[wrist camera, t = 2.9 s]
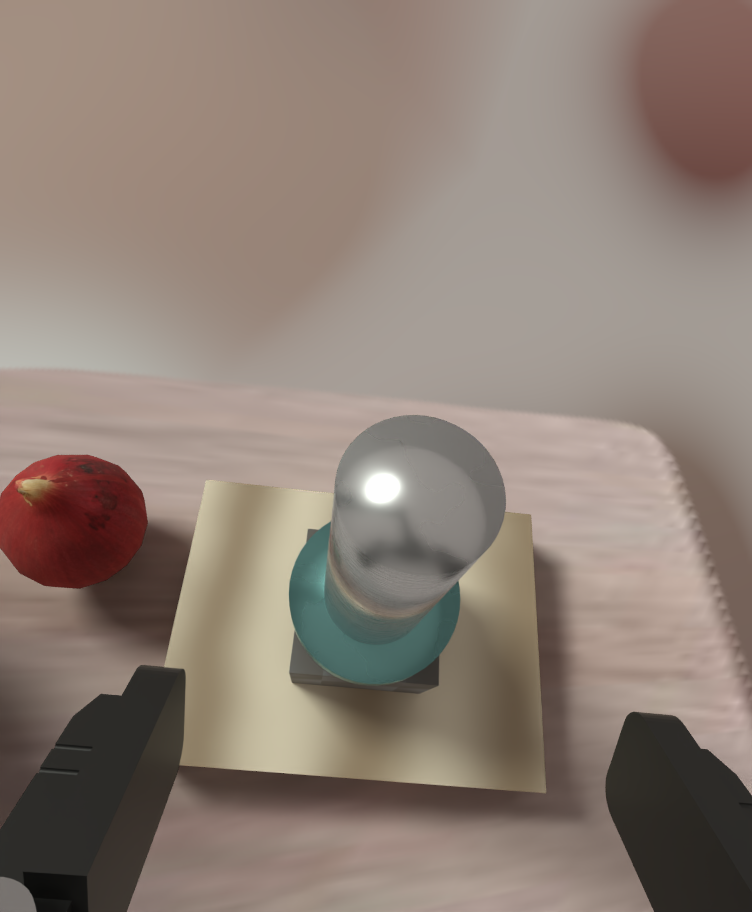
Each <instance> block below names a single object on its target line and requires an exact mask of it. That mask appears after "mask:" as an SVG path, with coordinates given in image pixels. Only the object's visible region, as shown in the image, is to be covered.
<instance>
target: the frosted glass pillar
mask: <svg viewBox="0 0 752 912" xmlns="http://www.w3.org/2000/svg"><path fill="white" fill-rule="evenodd" d="M505 509H506V495H505V487H504V483H503V479H502V476H501V474H500V471H499V469H498V467H497V465H496V463H495V461H494V459H493V458H492V456H491V455H490V454H489V452H488V451H487V450H486V449H485V447H484V446H483V445H482V444H481V443H480V442H479V441H478V440H477V439H476V438H474V437H473V436H472V435H471V434H469V433H468V432H466V431H465V430H463V429H462V428H460V427H458V426H456V425H454V424H452V423H450V422H447V421H445V420H441V419H438V418H434V417H428V416H420V415H407V416H399V417H393V418H390V419H387V420H383V421H381V422H379V423H377V424H374V425H373V426H371V427H369V428H368V429H366V430H365V431H363V432H362V433H361V434H360V435H359V436H357V437H356V439H355V440H354V441H353V442H352V443H351V444H350V445H349V447H348V448H347V450H346V451H345V453H344V455H343V457H342V459H341V461H340V464H339V467H338V469H337V474H336V479H335V488H334V498H333V507H332V517H331V521H330V522H329V523H327V524H326V525H324V526H323V527H321V528H320V529H319V530H318V531H317V532H316V533H315V534H313V536H312V537H311V538H310V539H309V540H308V541H307V542H306V544H305V545H304V547H303V548H302V550H301V551H300V553H299V555H298V557H297V559H296V561H295V564H294V567H293V570H292V573H291V578H290V583H289V607H290V613H291V618H292V623H293V626H294V629H295V632H296V635H297V637H298V639H299V641H300V643H301V644H302V646H303V647H304V649H305V650H306V652H307V653H308V654H309V656H310V657H311V658H312V659H313V660H314V661H315V662H316V663H317V664H318V665H319V666H320V667H322V668H323V669H324V670H326V671H327V672H329V673H330V674H332V675H333V676H335V677H338V678H340V679H342V680H344V681H347V682H350V683H354V684H359V685H365V686H381V685H389V684H393V683H396V682H400V681H402V680H405V679H407V678H409V677H411V676H413V675H414V674H416V673H418V672H419V671H421V670H423V669H424V668H426V667H427V666H428V665H429V664H430V663H432V662H433V661H434V660H435V659H436V658H437V657H438V656H439V655H440V654H441V652H442V651H443V650H444V648H445V647H446V645H447V644H448V643H449V641H450V639H451V637H452V635H453V633H454V630H455V627H456V624H457V621H458V616H459V611H460V587H459V579H460V578H461V577H462V576H463V575H464V574H465V573H466V572H467V571H468V570H469V569H470V568H471V567H472V566H473V564H474V563H475V562H476V561H477V560H478V559H479V558H480V557H481V556H482V555H483V554H484V553H485V552H486V551H487V550H488V548H489V547H490V546H491V545H492V543H493V542H494V540H495V539H496V537H497V535H498V533H499V531H500V529H501V526H502V523H503V520H504V515H505Z"/></svg>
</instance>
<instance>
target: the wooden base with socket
mask: <svg viewBox="0 0 752 912" xmlns="http://www.w3.org/2000/svg"><path fill="white" fill-rule="evenodd" d="M333 498H334V493H325V492H316V491H307V490H297V489H288V488H279V487H269V486H260V485H251V484H242V483H232V482H223V481H214V480H206V483H205V488H204V492H203V497H202V501H201V506H200V510H199V514H198V519H197V523H196V528H195V532H194V536H193V541H192V545H191V550H190V554H189V558H188V563H187V567H186V572H185V576H184V581H183V585H182V589H181V594H180V598H179V603H178V607H177V611H176V616H175V620H174V625H173V629H172V634H171V638H170V642H169V647H168V651H167V656H166V660H165V664H164V667H169V668H180V669H184V670H185V673H186V688H185V720H184V742H183V749H182V755H181V760H180V764H179V765H184V766H197V767H210V768H223V769H236V770H249V771H262V772H275V773H288V774H301V775H314V776H327V777H340V778H353V779H366V780H379V781H392V782H405V783H418V784H431V785H444V786H457V787H470V788H483V789H497V790H510V791H523V792H536V793H546V778H545V760H544V742H543V723H542V705H541V687H540V668H539V650H538V632H537V614H536V595H535V577H534V559H533V540H532V522H531V515H529V514H520V513H511V512H505V515H504V520H503V523H502V526H501V529H500V531H499V533H498V535H497V537H496V539H495V540H494V542H493V543H492V545H491V546H490V547H489V548H488V550H487V551H486V552H485V553H484V554H483V555H482V556H481V557H480V558H479V559H478V560H477V561H476V562H475V563H474V564H473V566H472V567H471V568H470V569H469V570H468V571H467V572H466V573H465V574H464V575H463V576H462V577H461V578H460V579H459V587H460V611H459V616H458V621H457V624H456V627H455V630H454V633H453V635H452V637H451V639H450V641H449V643H448V644H447V645H446V647H445V648H444V650H443V651H442V652H441V654H440V655H439V656H438V657H437V658H436V659H435V660H434V661H433V662H432V663H430V664H429V665H428V666H427V667H426V668H424V669H423V670H421V671H419V672H418V673H416V674H414V675H413V676H411V677H409V678H407V679H405V680H402V681H400V682H396V683H393V684H389V685H381V686H365V685H359V684H354V683H350V682H347V681H344V680H342V679H340V678H338V677H335V676H333V675H332V674H330V673H329V672H327V671H326V670H324V669H323V668H322V667H320V666H319V665H318V664H317V663H316V662H315V661H314V660H313V659H312V658H311V657H310V656H309V654H308V653H307V652H306V650H305V649H304V647H303V646H302V644H301V643H300V641H299V639H298V637H297V635H296V632H295V629H294V626H293V623H292V618H291V613H290V607H289V583H290V578H291V573H292V570H293V567H294V564H295V561H296V559H297V557H298V555H299V553H300V551H301V550H302V548H303V547H304V545H305V544H306V542H307V541H308V540H309V539H310V538H311V537H312V536H313V534H315V533H316V532H317V531H318V530H319V529H320V528H321V527H323V526H324V525H326V524H327V523H329V522H330V521H331V517H332V507H333Z"/></svg>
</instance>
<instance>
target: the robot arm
mask: <svg viewBox="0 0 752 912" xmlns="http://www.w3.org/2000/svg"><path fill="white" fill-rule="evenodd" d="M185 688H186V673H185V670H184V669H180V668H169V667H158V666H147V665H140V666H139V667H138V668H137V670H136V671H135V673H134V675H133V676H132V678H131V680H130V682H129V683H128V685H127V687H126V689H125V691H124V692H123V694H122V696H118V695H107V694H100V695H99V696H98V697H97V698H95V699H94V700H93V701H92V702H90V703H89V704H88V705H87V706H85V707H84V708H83V709H81V710H80V711H79V712H78V713H76V714H75V715H74V716H73V717H72V719H71V720H70V722H69V724H68V725H67V727H66V728H65V730H64V731H63V733H62V734H61V736H60V738H59V739H58V741H57V742H56V745H55V748H54V749H52V750H51V752H50V753H49V755H48V756H47V758H46V759H45V761H44V762H43V764H42V765H41V767H40V771H39V773H36V775H35V776H34V778H33V779H32V781H31V783H30V784H29V786H28V787H27V789H26V790H25V792H24V793H23V795H22V797H21V798H20V800H19V801H18V803H17V804H16V806H15V807H14V809H13V811H12V812H11V814H10V815H9V817H8V818H7V820H6V821H5V823H4V825H3V826H2V828H1V829H0V912H127V909H128V906H129V904H130V901H131V898H132V895H133V893H134V890H135V887H136V885H137V882H138V879H139V876H140V874H141V871H142V868H143V865H144V863H145V860H146V857H147V854H148V852H149V849H150V846H151V844H152V841H153V838H154V835H155V833H156V830H157V827H158V824H159V822H160V819H161V816H162V814H163V811H164V808H165V805H166V803H167V800H168V797H169V794H170V792H171V789H172V786H173V784H174V781H175V778H176V775H177V772H178V768H179V764H180V760H181V755H182V749H183V742H184V720H185ZM606 799H607V804H608V808H609V812H610V814H611V817H612V819H613V821H614V823H615V826H616V828H617V830H618V832H619V835H620V837H621V839H622V841H623V843H624V846H625V848H626V850H627V852H628V855H629V857H630V859H631V861H632V863H633V866H634V868H635V870H636V872H637V875H638V877H639V879H640V881H641V883H642V886H643V888H644V890H645V892H646V894H647V897H648V899H649V901H650V903H651V906H652V908H653V910H654V912H752V795H751V794H750V793H749V791H748V790H747V788H746V787H745V786H744V784H743V783H742V782H741V780H740V779H739V778H738V776H737V775H736V774H735V773H734V772H733V771H731V770H730V769H729V768H728V767H727V766H726V765H725V764H723V763H722V762H721V761H720V760H719V759H718V758H717V757H715V756H714V755H713V754H712V753H711V752H710V751H709V750H707V749H701V748H700V747H699V746H698V744H697V743H696V741H695V740H694V738H693V737H692V736H691V734H690V733H689V731H688V730H687V728H686V727H685V726H684V724H683V723H682V722H681V720H679V719H678V718H677V717H675V716H672V715H662V714H651V713H641V712H631V713H630V714H629V715H628V716H627V717H626V719H625V721H624V724H623V727H622V730H621V733H620V736H619V740H618V743H617V746H616V749H615V752H614V755H613V758H612V761H611V764H610V767H609V770H608V773H607V777H606Z"/></svg>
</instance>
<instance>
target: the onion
mask: <svg viewBox="0 0 752 912" xmlns="http://www.w3.org/2000/svg"><path fill="white" fill-rule="evenodd" d="M147 524H148V520H147V513H146V507H145V500H144V497H143V493H142V491H141V489H140V488H139V487H138V486H137V485H136V484H135V482H134V481H133V480H132V479H131V478H130V476H129V475H128V474H127V473H126V472H125V471H124V470H123V469H122V468H121V467H120V466H118V465H115V464H113V463H110V462H107V461H105V460H102V459H99V458H97V457H94V456H90V455H56V456H53V457H50V458H47V459H43V460H40V461H37V462H35V463H33V464H31V465H30V466H29V467H27V468H26V469H25V470H23V471H22V472H20V473H19V474H18V475H16V476H15V478H14V479H13V480H12V481H11V482H10V484H9V485H8V486H7V487H6V488H5V490H4V491H3V492H2V493H1V497H0V548H1V550H2V551H3V552H4V554H5V555H6V556H7V557H8V559H9V560H10V561H11V563H12V564H13V565H14V566H15V568H16V569H17V570H18V572H19V573H20V574H22V575H24V576H26V577H28V578H30V579H32V580H34V581H36V582H38V583H40V584H42V585H44V586H51V587H64V588H79V589H80V588H83V587H87V586H90V585H93V584H96V583H99V582H102V581H105V580H107V579H109V578H110V577H111V576H113V575H114V574H115V573H117V572H118V571H120V570H121V569H122V568H124V567H125V566H126V565H127V564H128V563H129V562H130V560H131V559H132V558H133V556H134V555H135V553H136V552H137V551H138V549H139V548H140V547H141V545H142V541H143V538H144V534H145V531H146V527H147Z"/></svg>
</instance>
